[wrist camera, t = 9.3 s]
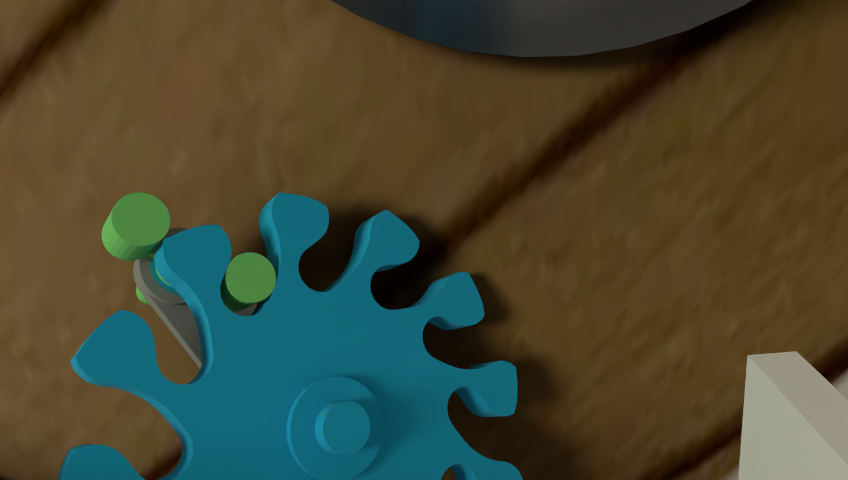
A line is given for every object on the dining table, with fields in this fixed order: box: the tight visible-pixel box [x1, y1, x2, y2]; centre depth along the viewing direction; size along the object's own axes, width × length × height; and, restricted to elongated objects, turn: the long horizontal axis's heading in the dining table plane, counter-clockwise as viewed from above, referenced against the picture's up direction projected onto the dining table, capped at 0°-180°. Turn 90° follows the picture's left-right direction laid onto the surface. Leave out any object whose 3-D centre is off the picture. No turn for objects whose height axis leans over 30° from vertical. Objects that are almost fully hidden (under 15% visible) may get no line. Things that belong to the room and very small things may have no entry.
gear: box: [58, 193, 523, 480], centre depth 16 cm, size 11×6×10 cm
